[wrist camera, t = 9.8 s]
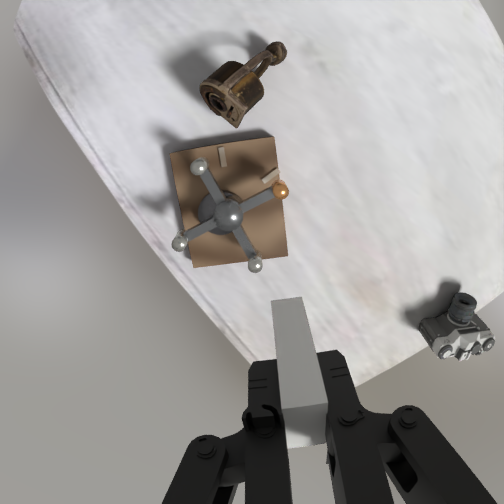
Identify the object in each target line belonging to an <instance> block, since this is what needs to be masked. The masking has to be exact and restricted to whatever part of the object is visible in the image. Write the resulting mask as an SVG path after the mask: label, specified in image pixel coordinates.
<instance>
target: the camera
mask: <svg viewBox="0 0 504 504" xmlns="http://www.w3.org/2000/svg"><path fill="white" fill-rule="evenodd" d="M476 305H477V302H476V300H475V298H474V297H472V296H471V295H469V294H466V293H456V294H455V295H454V297H453V301H452V303H451V305H450V308H449V309H448V312H446V313H444V314H442V315H440V316H438V317H436V318H427V319H423V320H422V322H421V323H420V325H419V331H420V333H421V334H422V336H423V337H424V339H425V340H426V342H427V343H428V345H429V346H430V348H431V349H432V351H433V352H434V353H435V354H436V356H437V357H438V358H440V359H445V358H447V357H452V356H455V357H456V358H457V359H458V360H459V361H461V360H463V359H467V360H468V358H469V356H470V355H471V354H472V355H474V354H475V355H480V354H481V353H483V351H488V350H490V349H491V348H492V347H493V345H494V342H495V340H494V339H495V336H494V335H493V334H492V332H491V331H490V329H489V328H488V327H487V326H486V324H485V323H484V322H483V321H482V320H481V319H480V318H479V317H478V316H477V314H474V310H475V308H476Z"/></svg>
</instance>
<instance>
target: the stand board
mask: <svg viewBox="0 0 504 504" xmlns="http://www.w3.org/2000/svg"><path fill="white" fill-rule="evenodd" d="M199 157H205V158H207V159H208V161H209V169H210V171H211V172H212V174H213V176H214V178H215V179H216V181H217V183H218V185H219V186H220V188H221V190H227V191H230V192H232V193H234V194H237V195H238V196H240V197H241V198H242V200H244V199H246V198H248V197H250V196H252V195H254V194H256V193H258V192H260V191H262V190H264V189H266V188H268V187H270V186H271V185H272V183H273V182H274V181H275V180H278V179H279V180H280V178H279V173H280V171H279V170H278V162H277V154H276V146H275V139H274V137H273V136H272V137H264V138H256V139H249V140H242V141H235V142H228V143H222V144H216V145H210V146H204V147H198V148H193V149H187V150H182V151H177V152H173V153H170V159H171V164H172V170H173V175H174V180H175V185H176V190H177V195H178V200H179V205H180V210H181V214H182V219H183V224H184V228H185V230H188V229H190V228H191V227H193V226H195V225H197V224H199V223H200V221H199V218H198V208H199V205H200V203H201V201H202V200H203V198H204V197H205V196H206V195H207V194H208V193H210V192H209V191H208V189H207V187H206V185H205V184H204V182H203V180H202V178H201V177H200V175H194V174H193V173H192V172H191V170H190V166H191V163H192V162H193V161H195V160H196V159H198V158H199ZM241 225H242V227H243V228H244V230H245V232H246V234H247V235H248V237H249V239H250V241H251V242H252V244H253V246H254V248H255V249H256V250H258V251H260V252H261V255H262V259H269V258H277V257H285V256H288V250H287V240H286V231H285V222H284V212H283V204H282V200H280V199H277V198H276V197H274V198H272V199H270V200H268V201H266V202H264V203H262V204H260V205H258V206H256V207H254V208H252V209H250V210H248V211H246V212H244V213H243V221H242V223H241ZM188 246H189V251H190V255H191V259H192V264H193V268H198V267H206V266H214V265H222V264H230V263H238V262H246V261H248V257H247V256H246V254H245V252H244V251H243V249H242V247H241V245H240V244H239V242H238V240H237V239H236V237H235V235H234V233H233V232H231V233H229V234H226V235H216V234H213V233H210V232H209V231H208V232H206V233H204V234H202V235H200V236H198V237H196V238H195V239H193V240H191V241H189V242H188Z"/></svg>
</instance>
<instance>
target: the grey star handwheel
mask: <svg viewBox="0 0 504 504" xmlns="http://www.w3.org/2000/svg"><path fill="white" fill-rule="evenodd" d="M190 170H191V172H192V173H193V174H194V175H200V177H201V178H202V180H203V182H204V184H205V185H206V187H207V189H208V191H209V192H210V193H208V194H207V195H206V196H205V197H204V198H203V200H202V201H201V203H200V205H199V208H198V218H199V221H200V223H199V224H197V225H195V226H193V227H191V228H190V229H188V230H180V231H179V232H178V233H177V235H176V236H175V238H174V240H173V241H172V248H173V249H174V250H175V251H178V252H181V251H183V250H184V249H185V247H186V245H187V243H188V242H189V241H191V240H193V239H195V238H196V237H198V236H200V235H202V234H204V233H206V232H208V231H209V232H210V233H213V234H216V235H226V234H229V233H231V232H233V233H234V235H235V237H236V239H237V240H238V242H239V244H240V245H241V247H242V249H243V251H244V252H245V254H246V256H247V257H248V269H249V270H250V271H251V272H253V273H257V272H260V271H261V269H262V255H261V252H260V251H258V250H256V249H255V248H254V246H253V244H252V242H251V241H250V239H249V237H248V235H247V234H246V232H245V230H244V228H243V227H242V225H241V223H242V221H243V213H244V212H246V211H248V210H250V209H252V208H254V207H256V206H258V205H260V204H262V203H264V202H266V201H268V200H270V199H272V198H274V197H276V198H277V199H280V200H282V199H285V198H286V197H287V196H288V194H289V190H288V188H287V186H286V184H285V182H284V181H282V180H279V179H278V180H275V181H274V182H273V183H272V185H271V186H270V187H268V188H266V189H264V190H262V191H260V192H258V193H256V194H254V195H252V196H250V197H248V198H246V199H244V200H242V198H241V197H240V196H238V195H237V194H234V193H232V192H230V191H227V190H221V188H220V186H219V185H218V183H217V181H216V179H215V178H214V176H213V174H212V172H211V171H210V169H209V161H208V159H207V158H205V157H199V158H198V159H196V160H195V161H193V162H192V163H191V166H190Z"/></svg>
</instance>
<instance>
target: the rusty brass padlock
mask: <svg viewBox="0 0 504 504" xmlns="http://www.w3.org/2000/svg"><path fill="white" fill-rule="evenodd" d="M286 55H287V50H286V48H285V46H284V44H283V43H281V42H273V43H271V44H270V45H268V46H267V47H266V50H265V51H263V52H261V53H259V54H258V55H256V56H255V57H253V58H252V59H251V60H249V61H248V62H247V63H246V64H245V65H243V64H241V63H239V62H236V61H228V62H226V63H225V64H224V65H222V66H221V67H220V68H219V69H217V70H216V71H215V72H214V73H213V74H212V75H210V76H209V77H208V78H207V79H206V80H204V81H203V82H202V83H201V84H200V93H201V95H202V97H203V99H204V101H205V102H206V104H207V105H208V107H209V108H210V110H212V111H213V112H214V113H215V114H216V115H218V116H222V117H223V118H224V119H225V120H227V121H228V122H229V123H230V124H231V125H233V126H234V127H235V128H238V126H239V125H240V123H241V121H242V119H243V117H244V115H245V114H246V113H247V112H248V111H249V110H250V109H251V108H252V107H253V106H254V105H255V104H256V103H257V102H258V101H259V100H261V99H262V97H263V95H264V88H263V85H262V83H261V82H260V80H259V78H260V77H261V76H262V74H263V73H264V72H265V71H266V69H267V68H268V66H269V65H271V66H275V65H277V64H279V63H281V62H282V61H283V60H284V59H285V57H286ZM261 61H262V63H261V64H260V66H259V67H258V68H257V70H256V71H255V72H254V73H253V72H252V69H253V68H254V67H256V66H257V65H258V64H259V63H260V62H261Z"/></svg>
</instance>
